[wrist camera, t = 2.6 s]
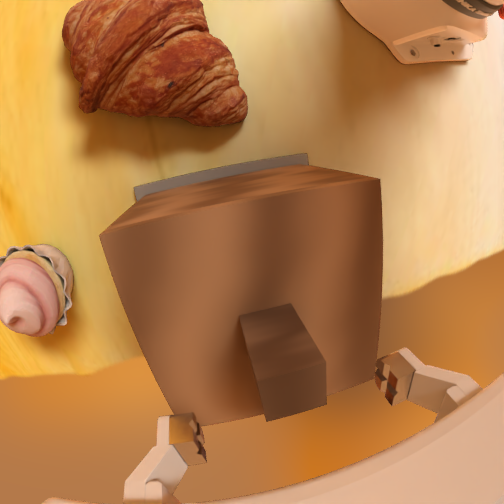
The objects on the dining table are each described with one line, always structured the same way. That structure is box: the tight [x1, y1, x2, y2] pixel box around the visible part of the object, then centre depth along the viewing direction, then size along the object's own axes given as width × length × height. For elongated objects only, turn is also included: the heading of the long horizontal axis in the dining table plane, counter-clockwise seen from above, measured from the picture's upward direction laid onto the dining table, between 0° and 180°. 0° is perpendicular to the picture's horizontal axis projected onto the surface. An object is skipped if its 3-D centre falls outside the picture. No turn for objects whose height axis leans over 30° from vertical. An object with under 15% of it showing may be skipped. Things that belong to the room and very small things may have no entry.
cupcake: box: [0, 244, 73, 337], centre depth 21 cm, size 9×9×10 cm
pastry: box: [62, 0, 248, 127], centre depth 18 cm, size 17×15×8 cm
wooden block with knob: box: [99, 164, 383, 426], centre depth 20 cm, size 14×14×18 cm
